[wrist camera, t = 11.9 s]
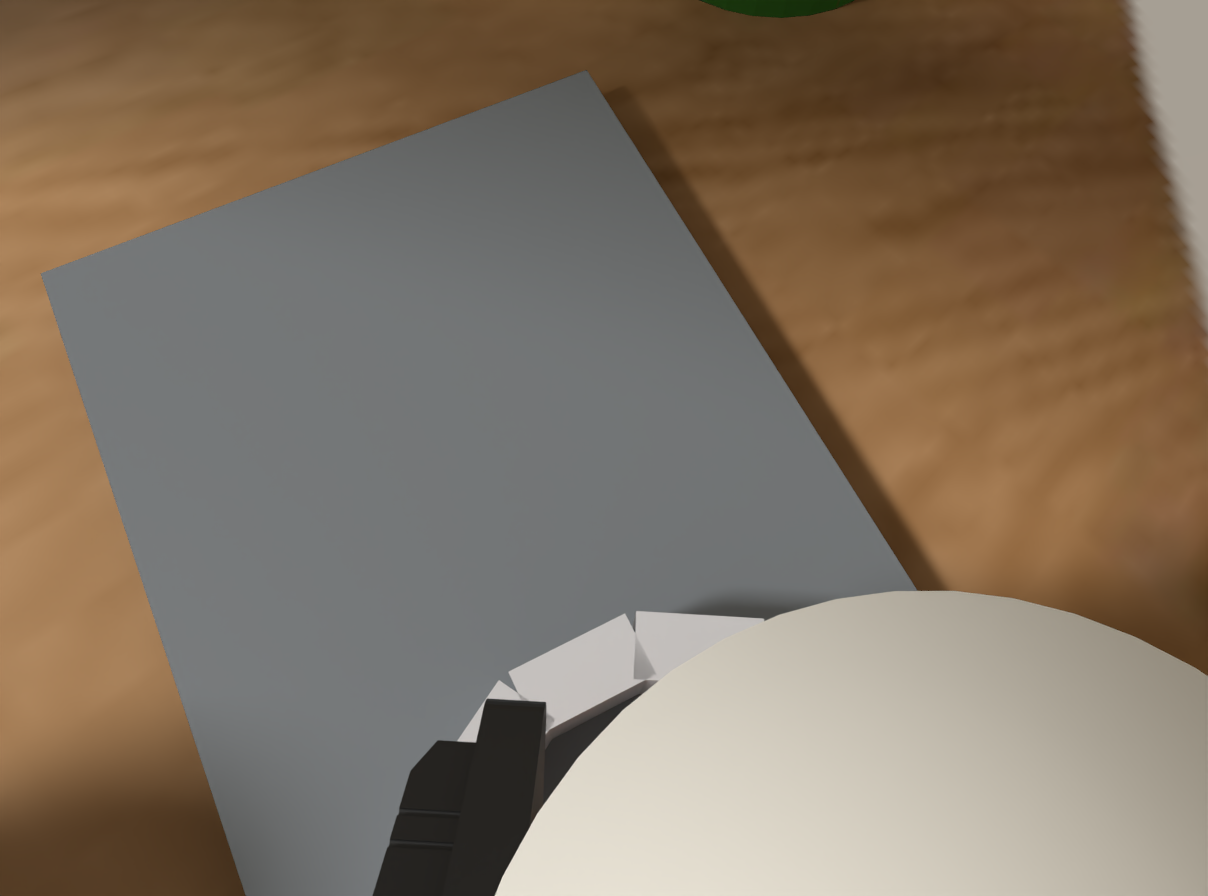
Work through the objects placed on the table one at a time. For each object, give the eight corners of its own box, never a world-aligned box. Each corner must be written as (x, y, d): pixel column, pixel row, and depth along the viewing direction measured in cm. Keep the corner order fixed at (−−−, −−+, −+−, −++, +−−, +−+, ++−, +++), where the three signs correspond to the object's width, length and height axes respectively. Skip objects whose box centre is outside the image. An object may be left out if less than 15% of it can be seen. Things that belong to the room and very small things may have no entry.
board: (63, 296, 22) (-12, 221, 19) (586, 97, 25) (587, 6, 22) (466, 1496, 14) (439, 1659, 12) (1166, 1022, 17) (1280, 1062, 14)
